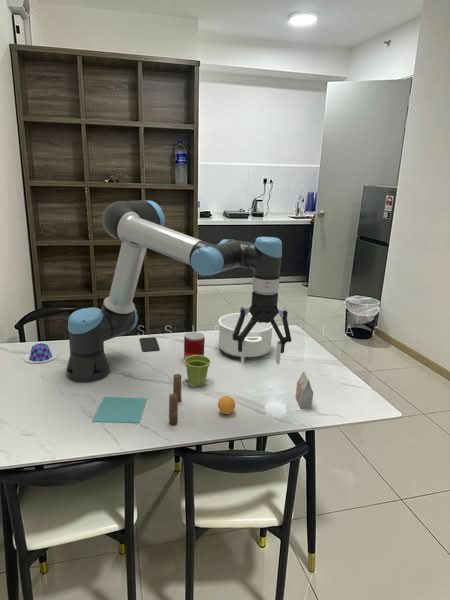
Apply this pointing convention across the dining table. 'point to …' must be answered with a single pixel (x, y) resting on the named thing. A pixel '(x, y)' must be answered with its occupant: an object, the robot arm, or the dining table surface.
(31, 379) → the dining table surface
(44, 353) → the pudding
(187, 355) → the canned food
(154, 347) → the phone
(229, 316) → the pot
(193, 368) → the plant pot
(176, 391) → the post far
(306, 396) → the white red carton
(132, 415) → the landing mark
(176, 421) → the post near
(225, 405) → the ball
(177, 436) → the dining table surface
